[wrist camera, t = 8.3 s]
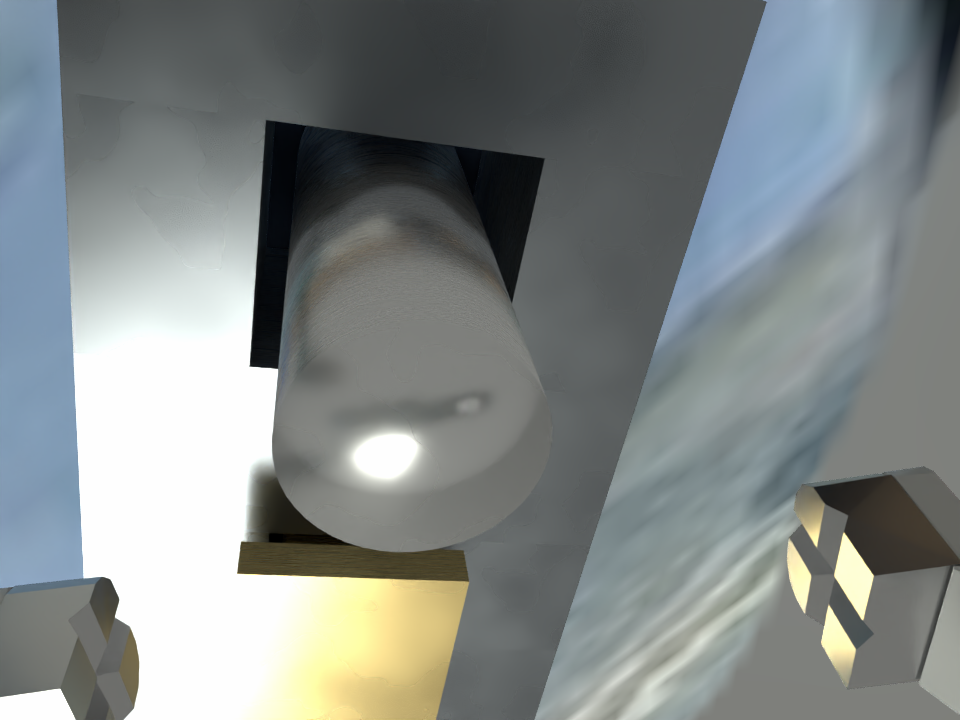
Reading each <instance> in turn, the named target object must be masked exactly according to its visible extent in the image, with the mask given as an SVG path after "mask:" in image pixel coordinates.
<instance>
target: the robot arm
mask: <svg viewBox="0 0 960 720" xmlns="http://www.w3.org/2000/svg"><path fill="white" fill-rule="evenodd" d="M794 511H795V513H796V514H797V516H798V518H799V519H800V521H801V523H802V524H801V525H800V527H799V528H798V529H797V530H796V531H795V532H794V533H793V534H792V535H791V536H790V537H789V544H788V553H787V563H788V570H789V577H790V582H791V585H792V588H793V591H794V593H795V596H796V599H797V600H798V602H799V604H800V606H801V608H802V610H803V611H804V613H805V614H806V615H807V616H809V617H810V618H812V619H814V620H815V621H817V622H819V623H820V624H822V625H823V626H824V632H823V637H822V642H821V644H822V646H823V647H824V649H825V651H826V653H827V655H828V656H829V658H830V660H831V662H832V663H833V665H834V667H835V669H836V670H837V672H838V674H839V676H840V677H841V679H842V681H843V683H844V685H845V686H846V688H847V689H855V688H864V687H872V686H881V685H889V684H897V683H905V682H914V681H920V682H919V685H920V686H921V687H923V688H924V689H925V690H927V691H928V692H929V693H931V694H932V695H933V696H935V697H936V698H937V699H939V700H940V701H941V702H943V703H944V704H946V705H947V706H948V707H949V708H951V709H952V710H953V711H955V712H956V713H957V714H959V715H960V500H959V499H958V498H957V497H956V496H955V494H954V493H953V492H952V491H951V490H950V489H949V488H948V487H947V485H946V484H945V483H944V482H943V481H942V480H941V479H940V477H939V476H938V475H937V474H936V473H935V472H934V471H932V470H930V469H928V468H926V467H924V466H923V467H916V468H910V469H903V470H896V471H890V472H884V473H882V474H872V475H864V476H857V477H850V478H843V479H836V480H829V481H822V482H814V483H807V484H802V485H801V487H800V489H799V490H798V492H797V494H796V499H795V505H794ZM119 601H120V599H119V596H118V594H117V592H116V590H115V587H114V585H113V583H112V581H111V579H109V578H106V577H103V576H101V577H92V578H82V579H73V580H64V581H55V582H45V583H36V584H27V585H18V586H14V587H10V588H0V720H124V719H125V718H126V717H127V716H128V715H129V714H130V713H131V712H132V710H133V709H134V707H135V702H136V698H137V693H138V689H139V667H140V660H139V654H138V649H137V643H136V640H135V637H134V634H133V632H132V629H131V627H130V626H129V625H127V624H125V623H124V622H122V621H121V620H119V619H117V618H116V617H115V615H116V612H117V608H118V605H119Z"/></svg>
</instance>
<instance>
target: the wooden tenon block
mask: <svg viewBox="0 0 960 720" xmlns="http://www.w3.org/2000/svg"><path fill="white" fill-rule="evenodd" d="M468 585H469V577H468V571H467V566H466V560H465V555H464V550H445V549H433V550H427V551H417V552H389V551H378V550H373V549H368V548H363V547H360V546H356V545H353V544H350V543H347V542H344V541H342V540H340V539H337V538H335V537H333V536H331V535H309V534H286V533H283V542H282V543H269V542H244V541H241V544H240V552H239V560H238V569H237V579H236V594H235V609H234V624H233V639H232V654H231V669H230V683H229V698H228V713H227V720H436V717H437V713H438V709H439V705H440V701H441V697H442V693H443V689H444V684H445V680H446V676H447V672H448V668H449V664H450V660H451V655H452V651H453V647H454V643H455V639H456V635H457V631H458V626H459V622H460V618H461V614H462V610H463V606H464V602H465V598H466V593H467V589H468Z"/></svg>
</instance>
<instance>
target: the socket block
mask: <svg viewBox="0 0 960 720" xmlns="http://www.w3.org/2000/svg"><path fill="white" fill-rule="evenodd" d="M766 3H767V2H766V1H763V0H57V11H58V32H59V53H60V75H61V96H62V117H63V139H64V160H65V182H66V203H67V224H68V246H69V267H70V289H71V310H72V331H73V353H74V374H75V395H76V417H77V438H78V460H79V481H80V502H81V524H82V545H83V567H84V578H92V577H101V576H103V577H106V578H109V579H111V581H112V583H113V585H114V587H115V590H116V592H117V594H118V596H119V599H120V601H119V605H118V608H117V612H116V615H115V617H116V618H117V619H119V620H121V621H122V622H124V623H125V624H127V625H129V626H130V627H131V629H132V632H133V634H134V637H135V640H136V643H137V649H138V654H139V660H140V667H139V689H138V693H137V698H136V702H135V707H134V709H133V710H132V712H131V713H130V714H129V715H128V716H127V717H126V718H125V719H124V720H227V713H228V698H229V683H230V669H231V654H232V639H233V624H234V609H235V594H236V579H237V569H238V560H239V552H240V544H241V541H244V542H269V543H282V542H283V533H286V534H309V535H329V534H327V533H326V532H324V531H322V530H321V529H319V528H317V527H316V526H315V525H314V524H312V523H311V522H310V521H308V520H307V519H306V518H305V517H304V516H303V515H302V514H301V513H300V512H299V511H298V510H297V509H296V508H295V507H294V506H293V504H292V503H291V502H290V500H289V499H288V498H287V496H286V495H285V493H284V491H283V489H282V487H281V485H280V483H279V481H278V478H277V475H276V472H275V469H274V464H273V458H272V432H273V421H274V410H275V399H276V388H277V377H278V366H279V355H280V344H281V333H282V322H283V311H284V300H285V289H286V278H287V267H288V256H289V249H281V248H272V247H266V245H267V231H268V217H269V203H270V190H271V176H272V162H273V148H274V134H275V121H278V122H285V123H292V124H300V125H307V126H314V127H321V128H329V129H336V130H343V131H350V132H358V133H365V134H372V135H379V136H387V137H394V138H401V139H408V140H416V141H423V142H430V143H438V144H445V145H452V146H459V147H467V148H474V149H481V150H482V154H481V159H480V164H479V170H478V175H477V180H476V185H475V191H474V196H473V199H474V202H475V204H476V207H477V210H478V213H479V215H480V218H481V221H482V224H483V226H484V229H485V232H486V234H487V237H488V240H489V243H490V245H491V248H492V251H493V254H494V256H495V259H496V262H497V265H498V267H499V270H500V273H501V276H502V278H503V281H504V284H505V287H506V289H507V292H508V295H509V298H510V300H511V303H512V306H513V308H514V311H515V314H516V317H517V319H518V322H519V325H520V328H521V330H522V333H523V336H524V339H525V341H526V344H527V347H528V350H529V352H530V355H531V358H532V361H533V363H534V366H535V369H536V371H537V374H538V377H539V380H540V382H541V385H542V388H543V391H544V393H545V396H546V399H547V402H548V406H549V409H550V413H551V420H552V444H551V449H550V454H549V458H548V461H547V463H546V466H545V469H544V471H543V473H542V475H541V477H540V479H539V481H538V483H537V484H536V486H535V487H534V489H533V490H532V492H531V493H530V494H529V496H528V497H527V498H526V499H525V500H524V501H523V502H522V504H521V505H520V506H519V507H518V508H517V509H516V510H514V511H513V512H512V513H511V514H510V515H509V516H508V517H506V518H505V519H504V520H502V521H501V522H499V523H498V524H496V525H495V526H494V527H492V528H490V529H488V530H487V531H485V532H483V533H481V534H479V535H477V536H475V537H473V538H470V539H468V540H465V541H463V542H460V543H457V544H454V545H450V546H447V547H443V548H438V549H445V550H464V555H465V560H466V566H467V571H468V577H469V585H468V589H467V593H466V598H465V602H464V606H463V610H462V614H461V618H460V622H459V626H458V631H457V635H456V639H455V643H454V647H453V651H452V655H451V660H450V664H449V668H448V672H447V676H446V680H445V684H444V689H443V693H442V697H441V701H440V705H439V709H438V713H437V717H436V720H534V719H535V716H536V713H537V710H538V707H539V703H540V700H541V697H542V694H543V691H544V688H545V685H546V682H547V679H548V676H549V673H550V669H551V666H552V663H553V660H554V657H555V654H556V651H557V648H558V645H559V642H560V639H561V636H562V632H563V629H564V626H565V623H566V620H567V617H568V614H569V611H570V608H571V605H572V602H573V598H574V595H575V592H576V589H577V586H578V583H579V580H580V577H581V574H582V571H583V568H584V565H585V561H586V558H587V555H588V552H589V549H590V546H591V543H592V540H593V537H594V534H595V531H596V527H597V524H598V521H599V518H600V515H601V512H602V509H603V506H604V503H605V500H606V497H607V493H608V490H609V487H610V484H611V481H612V478H613V475H614V472H615V469H616V466H617V463H618V460H619V456H620V453H621V450H622V447H623V444H624V441H625V438H626V435H627V432H628V429H629V426H630V422H631V419H632V416H633V413H634V410H635V407H636V404H637V401H638V398H639V395H640V392H641V389H642V385H643V382H644V379H645V376H646V373H647V370H648V367H649V364H650V361H651V358H652V355H653V351H654V348H655V345H656V342H657V339H658V336H659V333H660V330H661V327H662V324H663V321H664V317H665V314H666V311H667V308H668V305H669V302H670V299H671V296H672V293H673V290H674V287H675V284H676V280H677V277H678V274H679V271H680V268H681V265H682V262H683V259H684V256H685V253H686V250H687V246H688V243H689V240H690V237H691V234H692V231H693V228H694V225H695V222H696V219H697V216H698V213H699V209H700V206H701V203H702V200H703V197H704V194H705V191H706V188H707V185H708V182H709V179H710V175H711V172H712V169H713V166H714V163H715V160H716V157H717V154H718V151H719V148H720V145H721V141H722V138H723V135H724V132H725V129H726V126H727V123H728V120H729V117H730V114H731V111H732V108H733V104H734V101H735V98H736V95H737V92H738V89H739V86H740V83H741V80H742V77H743V74H744V70H745V67H746V64H747V61H748V58H749V55H750V52H751V49H752V46H753V43H754V40H755V37H756V33H757V30H758V27H759V24H760V21H761V18H762V15H763V12H764V9H765V6H766Z"/></svg>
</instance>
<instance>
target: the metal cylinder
mask: <svg viewBox="0 0 960 720" xmlns="http://www.w3.org/2000/svg"><path fill="white" fill-rule="evenodd" d="M551 444H552V420H551V413H550V409H549V406H548V402H547V399H546V396H545V393H544V391H543V388H542V385H541V382H540V380H539V377H538V374H537V371H536V369H535V366H534V363H533V361H532V358H531V355H530V352H529V350H528V347H527V344H526V341H525V339H524V336H523V333H522V330H521V328H520V325H519V322H518V319H517V317H516V314H515V311H514V308H513V306H512V303H511V300H510V298H509V295H508V292H507V289H506V287H505V284H504V281H503V278H502V276H501V273H500V270H499V267H498V265H497V262H496V259H495V256H494V254H493V251H492V248H491V245H490V243H489V240H488V237H487V234H486V232H485V229H484V226H483V224H482V221H481V218H480V215H479V213H478V210H477V207H476V204H475V202H474V199H473V196H472V193H471V191H470V188H469V185H468V182H467V180H466V177H465V174H464V171H463V169H462V166H461V163H460V161H459V158H458V155H457V152H456V150H455V147H454V146H452V145H445V144H438V143H430V142H423V141H416V140H408V139H401V138H394V137H387V136H379V135H372V134H365V133H358V132H350V131H343V130H336V129H329V128H321V127H314V126H306V128H305V130H304V132H303V134H302V137H301V141H300V144H299V150H298V157H297V168H296V179H295V190H294V201H293V212H292V223H291V234H290V245H289V256H288V267H287V278H286V289H285V300H284V311H283V322H282V333H281V344H280V355H279V366H278V377H277V388H276V399H275V410H274V421H273V432H272V458H273V464H274V469H275V472H276V475H277V478H278V481H279V483H280V485H281V487H282V489H283V491H284V493H285V495H286V496H287V498H288V499H289V500H290V502H291V503H292V504H293V506H294V507H295V508H296V509H297V510H298V511H299V512H300V513H301V514H302V515H303V516H304V517H305V518H306V519H307V520H308V521H310V522H311V523H312V524H314V525H315V526H316V527H317V528H319V529H321V530H322V531H324V532H326V533H327V534H329V535H331V536H333V537H335V538H337V539H340V540H342V541H344V542H347V543H350V544H353V545H356V546H360V547H363V548H368V549H373V550H378V551H389V552H417V551H427V550H433V549H438V548H443V547H447V546H450V545H454V544H457V543H460V542H463V541H465V540H468V539H470V538H473V537H475V536H477V535H479V534H481V533H483V532H485V531H487V530H488V529H490V528H492V527H494V526H495V525H496V524H498V523H499V522H501V521H502V520H504V519H505V518H506V517H508V516H509V515H510V514H511V513H512V512H513V511H514V510H516V509H517V508H518V507H519V506H520V505H521V504H522V502H523V501H524V500H525V499H526V498H527V497H528V496H529V494H530V493H531V492H532V490H533V489H534V487H535V486H536V484H537V483H538V481H539V479H540V477H541V475H542V473H543V471H544V469H545V466H546V463H547V461H548V458H549V454H550V449H551Z"/></svg>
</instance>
